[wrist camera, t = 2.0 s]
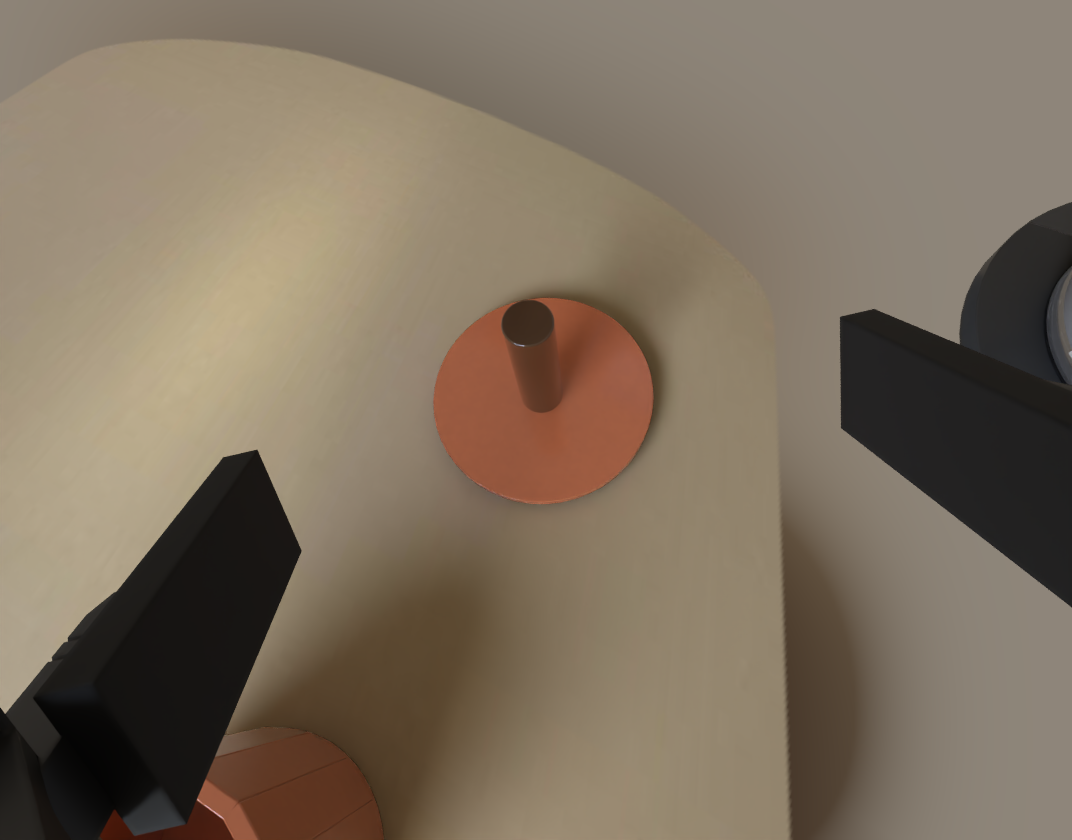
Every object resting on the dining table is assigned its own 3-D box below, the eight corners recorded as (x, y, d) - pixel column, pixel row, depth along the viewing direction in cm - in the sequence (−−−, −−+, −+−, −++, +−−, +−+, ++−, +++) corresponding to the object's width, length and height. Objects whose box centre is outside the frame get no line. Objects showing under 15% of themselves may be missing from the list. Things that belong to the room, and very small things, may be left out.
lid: (687, 355, 41) (715, 263, 31) (592, 546, 37) (591, 508, 27) (502, 278, 44) (476, 173, 34) (398, 447, 40) (336, 382, 31)
